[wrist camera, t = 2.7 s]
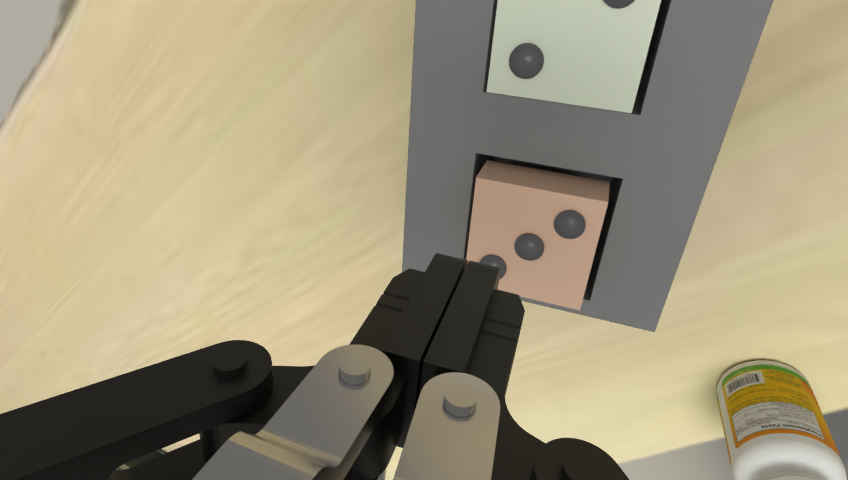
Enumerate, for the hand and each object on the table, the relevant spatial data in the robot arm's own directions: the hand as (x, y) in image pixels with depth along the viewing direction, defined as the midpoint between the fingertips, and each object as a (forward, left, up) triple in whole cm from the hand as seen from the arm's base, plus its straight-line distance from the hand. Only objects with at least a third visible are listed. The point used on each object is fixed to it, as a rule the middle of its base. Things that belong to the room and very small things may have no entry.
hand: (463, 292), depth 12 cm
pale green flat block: (-1, -4, -17) cm, 17 cm away
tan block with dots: (-1, +6, -17) cm, 17 cm away
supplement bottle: (-17, +18, -22) cm, 33 cm away
